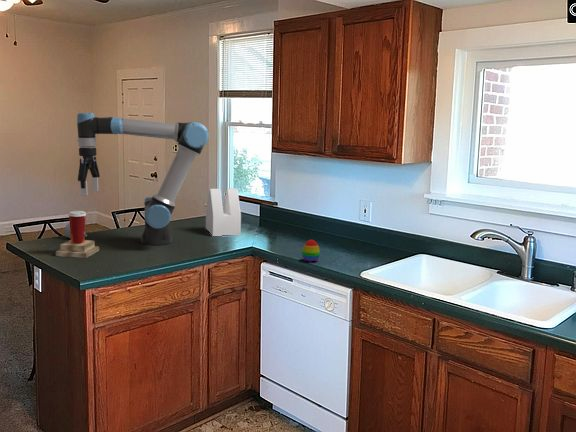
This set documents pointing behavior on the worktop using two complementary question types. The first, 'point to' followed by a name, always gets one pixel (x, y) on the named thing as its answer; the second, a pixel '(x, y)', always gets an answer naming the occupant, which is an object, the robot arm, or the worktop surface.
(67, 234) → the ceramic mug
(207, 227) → the white slotted block
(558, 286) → the worktop surface
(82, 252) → the maple pedestal
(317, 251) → the decorative egg
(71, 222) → the paper cup
